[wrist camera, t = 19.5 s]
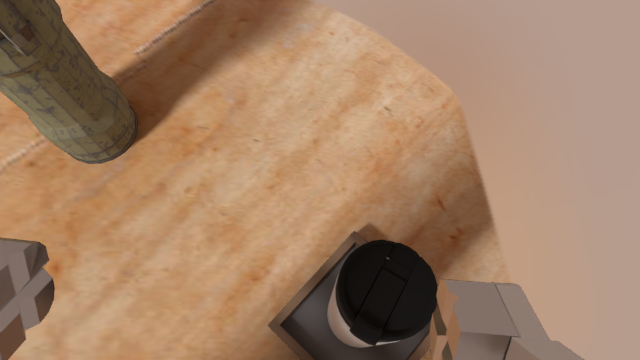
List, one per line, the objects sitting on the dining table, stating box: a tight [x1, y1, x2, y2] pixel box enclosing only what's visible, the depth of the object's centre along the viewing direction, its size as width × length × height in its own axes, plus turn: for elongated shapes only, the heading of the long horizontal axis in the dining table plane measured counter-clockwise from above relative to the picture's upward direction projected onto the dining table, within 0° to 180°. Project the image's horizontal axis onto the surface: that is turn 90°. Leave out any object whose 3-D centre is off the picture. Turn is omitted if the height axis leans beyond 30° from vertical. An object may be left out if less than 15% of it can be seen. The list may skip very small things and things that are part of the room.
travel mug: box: [327, 240, 437, 348], centre depth 37 cm, size 6×7×20 cm
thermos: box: [0, 0, 138, 164], centre depth 38 cm, size 9×12×35 cm
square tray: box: [268, 231, 439, 360], centre depth 46 cm, size 13×13×2 cm
